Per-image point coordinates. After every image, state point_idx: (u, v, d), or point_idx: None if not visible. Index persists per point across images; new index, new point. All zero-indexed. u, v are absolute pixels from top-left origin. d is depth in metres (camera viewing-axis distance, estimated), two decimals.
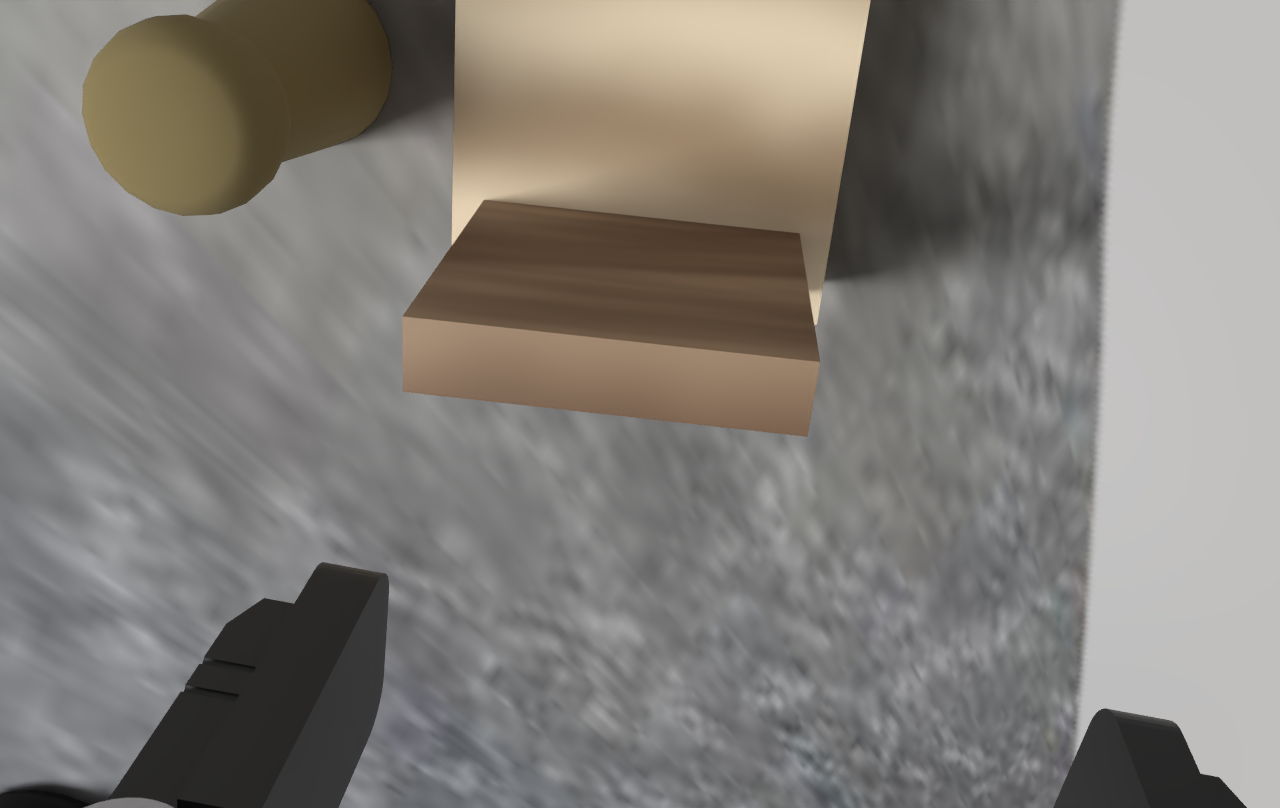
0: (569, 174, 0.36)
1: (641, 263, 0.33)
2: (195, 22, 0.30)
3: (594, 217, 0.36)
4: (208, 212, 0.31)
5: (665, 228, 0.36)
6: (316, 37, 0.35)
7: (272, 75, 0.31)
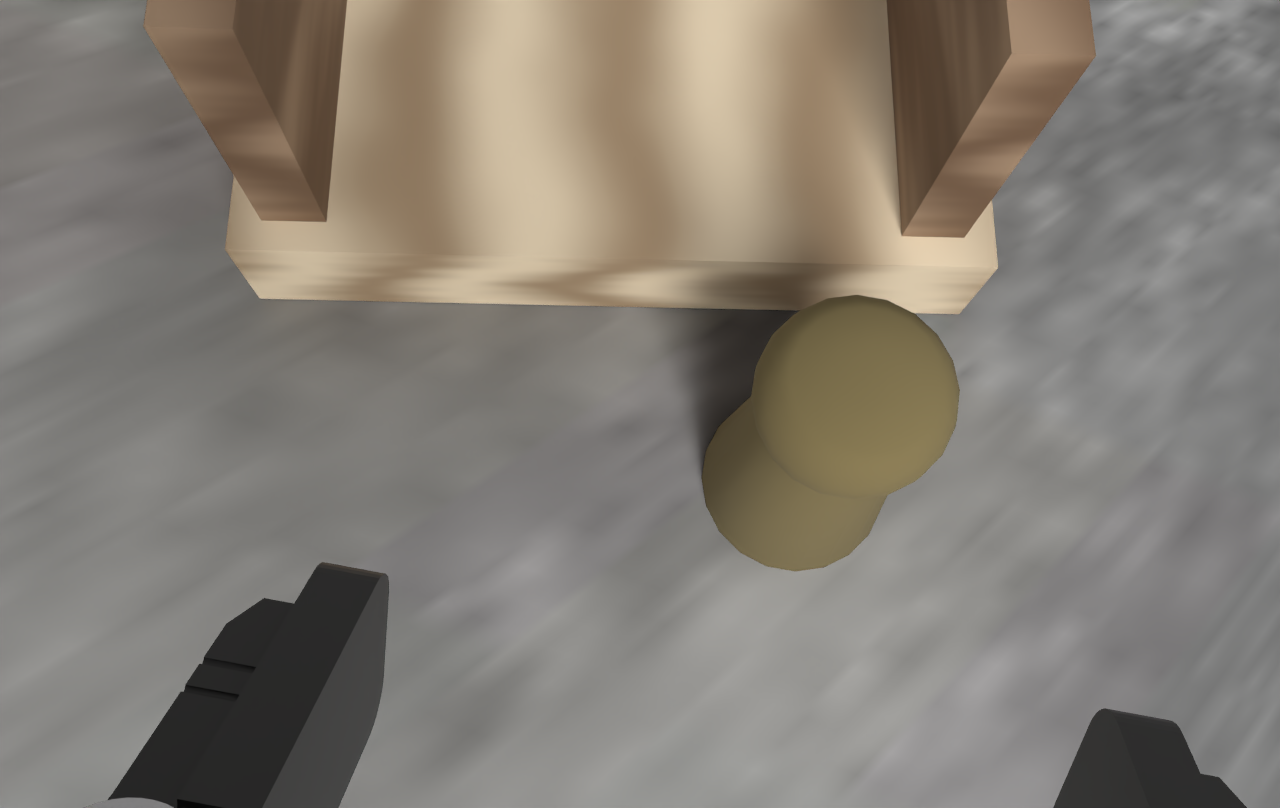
0: (863, 160, 0.38)
1: (929, 4, 0.34)
2: (756, 373, 0.29)
3: (900, 125, 0.37)
4: (950, 358, 0.29)
5: (898, 57, 0.38)
6: None
7: None
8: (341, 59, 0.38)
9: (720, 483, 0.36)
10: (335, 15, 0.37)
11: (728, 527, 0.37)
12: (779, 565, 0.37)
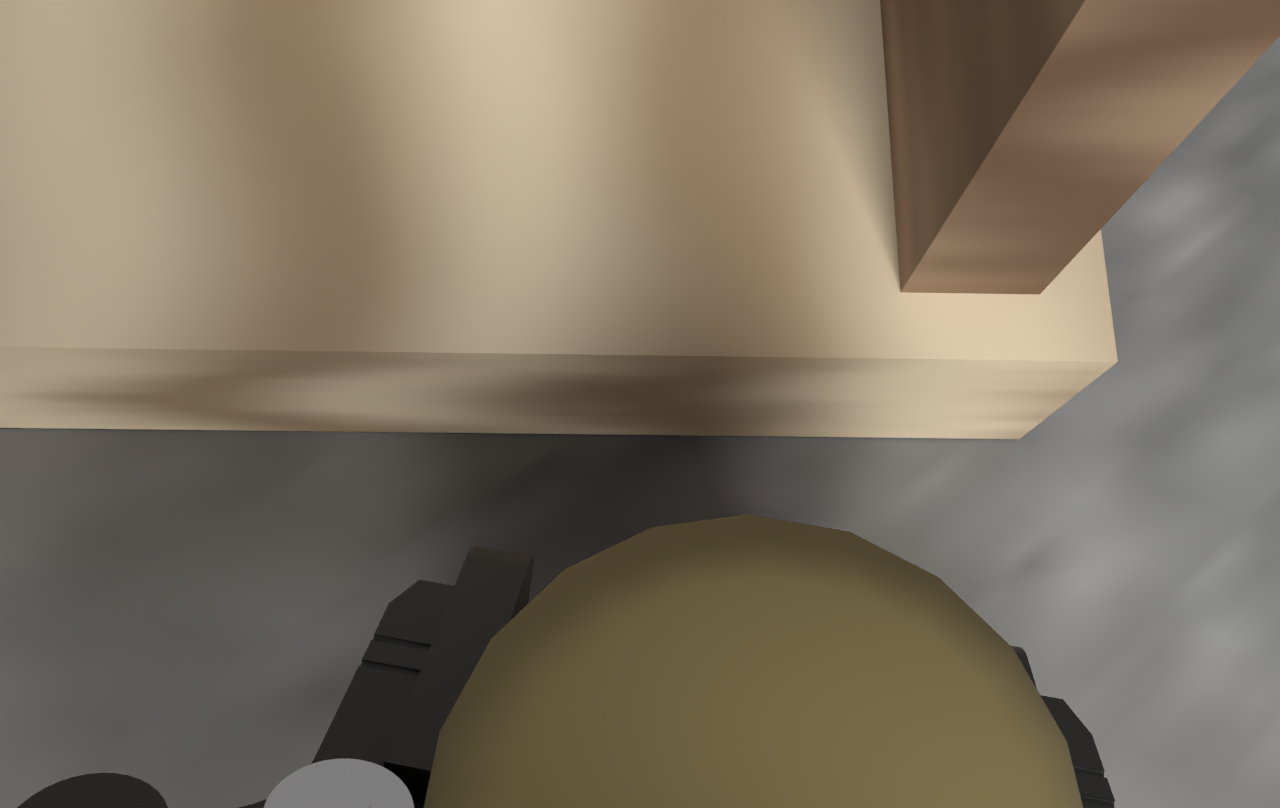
0: (815, 125, 0.17)
1: None
2: (431, 773, 0.09)
3: (895, 47, 0.17)
4: (1060, 739, 0.09)
5: None
6: None
7: None
8: None
9: None
10: None
11: None
12: None
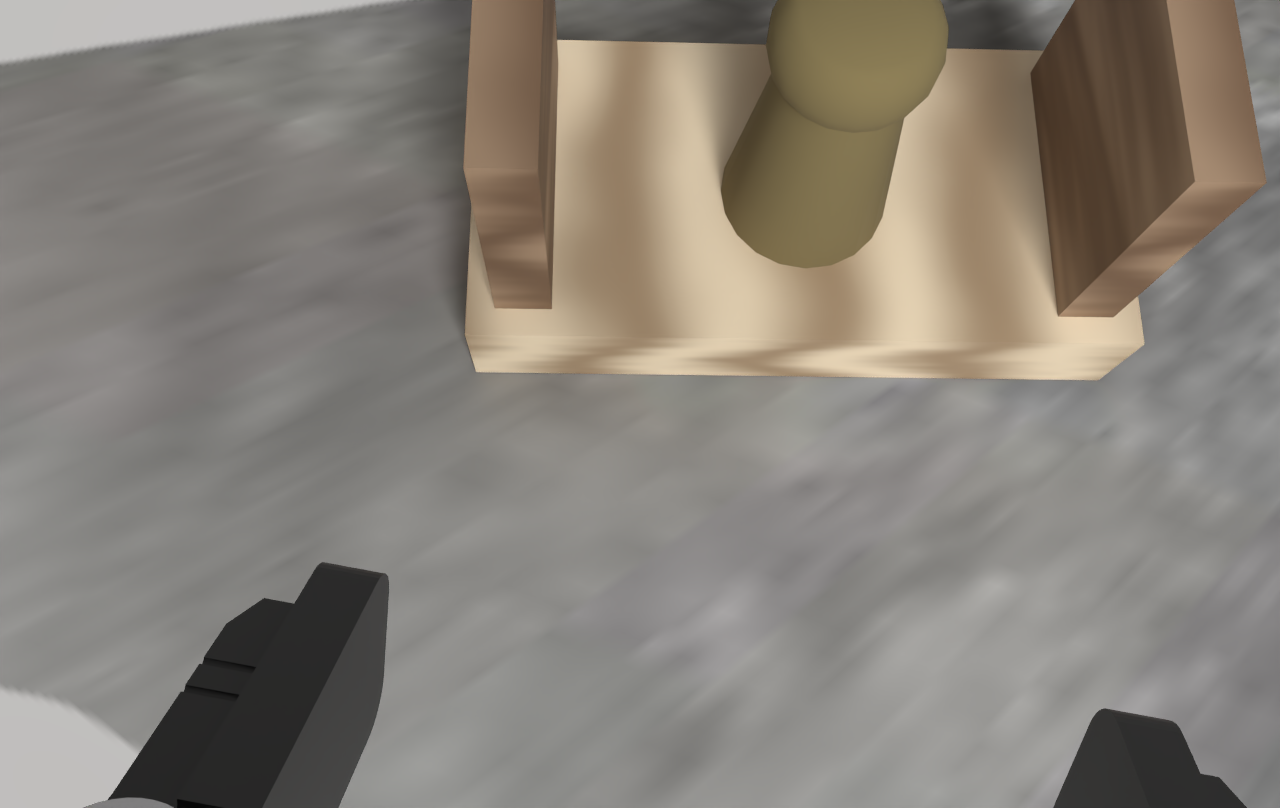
0: (1020, 248, 0.42)
1: (1091, 118, 0.39)
2: (770, 19, 0.34)
3: (1053, 217, 0.42)
4: None
5: (1051, 156, 0.42)
6: None
7: None
8: (555, 162, 0.43)
9: (738, 179, 0.40)
10: None
11: (745, 225, 0.41)
12: (791, 261, 0.41)
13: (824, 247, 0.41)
